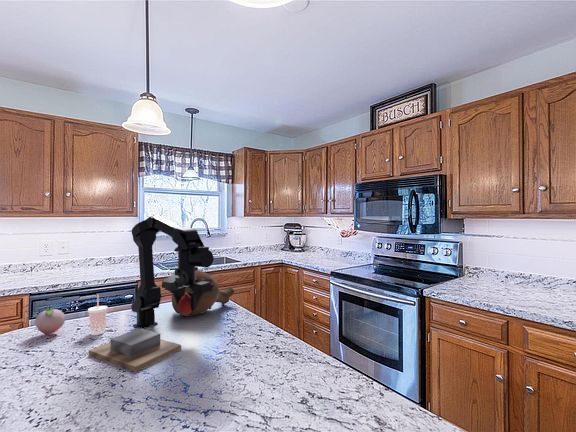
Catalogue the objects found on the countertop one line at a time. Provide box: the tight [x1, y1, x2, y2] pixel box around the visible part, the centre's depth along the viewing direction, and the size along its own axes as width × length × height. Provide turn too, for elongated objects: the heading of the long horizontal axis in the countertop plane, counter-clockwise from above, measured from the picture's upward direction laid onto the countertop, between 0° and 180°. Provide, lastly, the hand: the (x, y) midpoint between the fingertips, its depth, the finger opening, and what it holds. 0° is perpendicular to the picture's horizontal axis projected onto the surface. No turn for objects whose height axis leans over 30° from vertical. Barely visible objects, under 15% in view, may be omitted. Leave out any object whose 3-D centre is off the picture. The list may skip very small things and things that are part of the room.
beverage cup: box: [87, 293, 108, 336], centre depth 110 cm, size 6×6×14 cm
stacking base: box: [88, 328, 182, 373], centre depth 94 cm, size 22×16×5 cm
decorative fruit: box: [34, 306, 66, 336], centre depth 108 cm, size 9×8×10 cm
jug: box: [171, 269, 235, 317], centre depth 135 cm, size 20×20×30 cm
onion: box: [178, 293, 192, 317], centre depth 105 cm, size 6×6×8 cm
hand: (186, 309), depth 105 cm, fingers closed on onion, 6 cm apart
